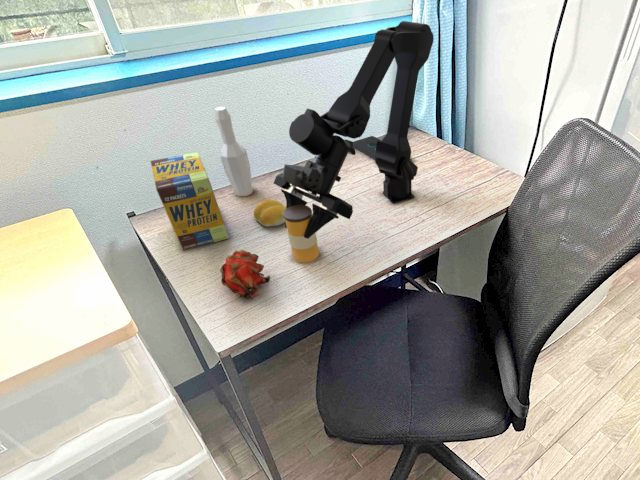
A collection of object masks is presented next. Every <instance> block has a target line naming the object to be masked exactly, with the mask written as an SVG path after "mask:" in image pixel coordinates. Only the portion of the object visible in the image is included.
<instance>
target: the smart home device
mask: <svg viewBox="0 0 640 480" xmlns="http://www.w3.org/2000/svg"><path fill="white" fill-rule="evenodd" d="M378 140H380V141H381V140H382V139H380V138H378V137H377V136H374V135H370V136H367V137H363V138H360V139H357V140H354V141H352V142H353V146H354V149H355V150H357V151H359V152H361V153H362V154H364V155H366V156H367V157H369V158H371V159H372V160H374V161H375V157H374V155H375V152H376V143H377V141H378Z"/></svg>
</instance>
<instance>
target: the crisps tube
mask: <svg viewBox="0 0 640 480" xmlns="http://www.w3.org/2000/svg"><path fill="white" fill-rule="evenodd" d="M312 214H313V209H312V208H311V207H310V206H308V205H307V204H306V205H294V206H291V207H289V208H287V209H286V210H285V211H284V213H283V215H284V218H285V222H286V226H287V228H286V231H287V236H288V241H289V245H290V247H291V252H292V257H293V260H294V261H296V262H298V263H303V264H304V263H305V264H306V263H311V262H313V261H315V260H316V259H317V258H318V257H319V256H320V252H319V246H318V242H317V232H316V233H314V234H313V235H312V236H311V237H310V238H308V239H307V238H305V237H304V234H305V231H306V228H307V226H308V224H309V221H310V219H311V217H312Z"/></svg>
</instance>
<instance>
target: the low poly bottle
mask: <svg viewBox="0 0 640 480" xmlns="http://www.w3.org/2000/svg"><path fill="white" fill-rule="evenodd" d="M214 119H215V122H216V125H217V127H218V129H219V132H220V136H221V138H222V141H223V146H222V148H221V151H220V154H219V157H220V161H221V164H222V167H223V170H224V173H225V175H226V177H227V179H228V181H229V183H230V186H231V188H232V191H233V193H234V194H235V196H238V197H248V196H250V195H252V194H253V192H254V186H253V185H254V184H253V178H252V177H253V176H252V172H251V164H250V161H249V160H250V159H249V156H248V152H247V149H246V148H245V147H244V146H243V145H242V144H241V143H239V142H238V141H237V138H236V136H235V132H234V128H233V122H232V117H231V114H230V112H229V111H228V110H227V108H226V107H224V106H218V107H216V108H215V109H214Z"/></svg>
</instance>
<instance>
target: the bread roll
mask: <svg viewBox="0 0 640 480" xmlns="http://www.w3.org/2000/svg"><path fill="white" fill-rule="evenodd" d="M285 210H286V205H285V204H283V202H281V201H279V200H277V199H266V200H263V201H261V202H259V203H258V204H257V205H256V206H255V207H254V210H253V218H254V219H255V220H256V221H257V222H259V224H260V225H262V226H263V227H267V228H269V227H278V226H281V225H284V224H285V218H284V215H283V213H284V211H285Z"/></svg>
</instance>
